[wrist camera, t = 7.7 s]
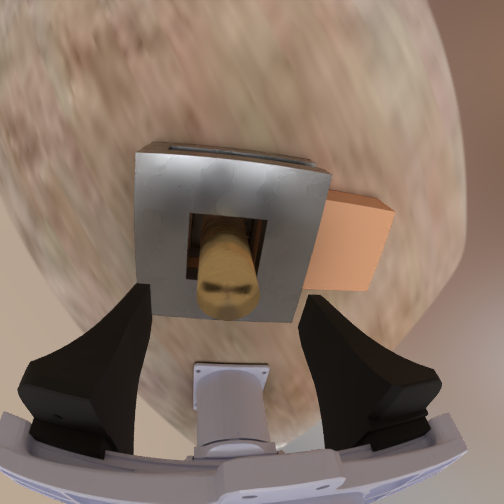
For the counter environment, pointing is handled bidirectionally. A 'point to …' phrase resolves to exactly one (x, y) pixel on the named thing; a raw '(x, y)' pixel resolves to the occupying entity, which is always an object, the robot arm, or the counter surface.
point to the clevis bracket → (226, 204)
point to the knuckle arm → (342, 242)
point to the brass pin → (226, 269)
